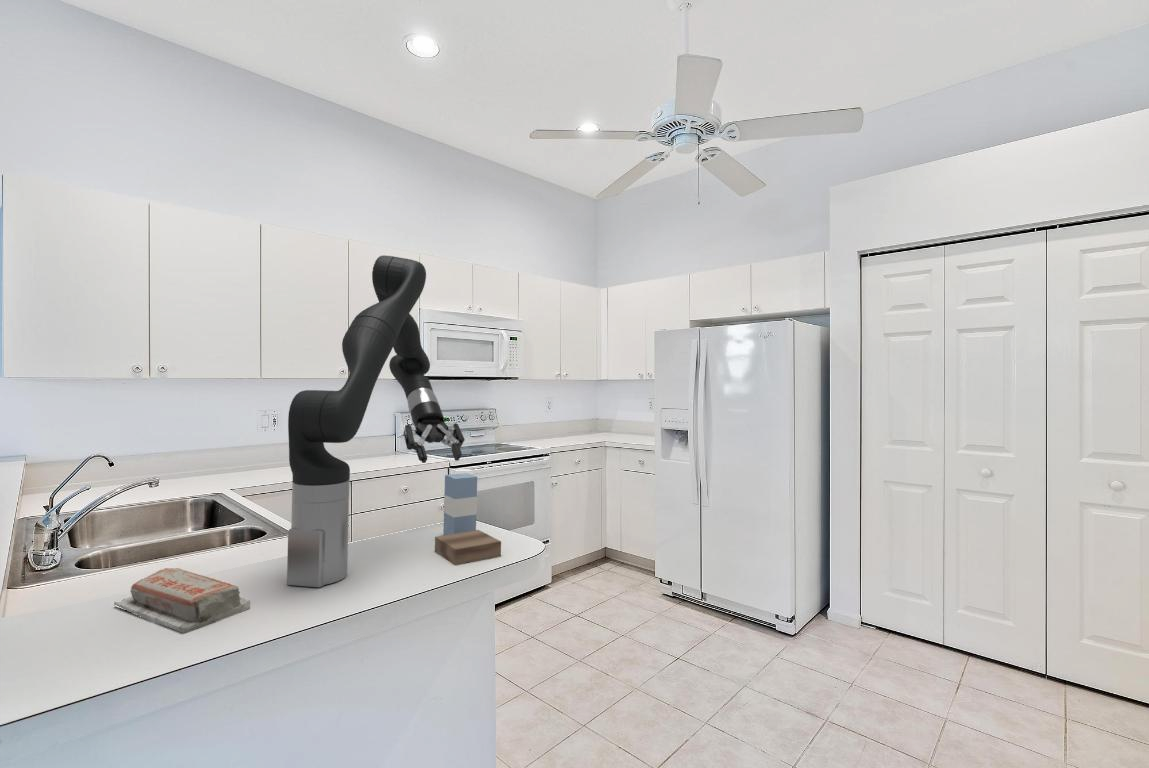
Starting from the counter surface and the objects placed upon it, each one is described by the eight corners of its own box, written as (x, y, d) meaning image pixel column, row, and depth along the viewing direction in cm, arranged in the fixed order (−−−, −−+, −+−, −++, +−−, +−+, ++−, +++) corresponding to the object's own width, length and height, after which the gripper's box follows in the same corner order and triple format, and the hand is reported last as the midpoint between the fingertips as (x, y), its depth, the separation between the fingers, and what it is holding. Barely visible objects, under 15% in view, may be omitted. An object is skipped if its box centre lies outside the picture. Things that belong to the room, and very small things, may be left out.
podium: (500, 556, 111) (501, 541, 111) (455, 565, 105) (455, 549, 105) (478, 543, 119) (478, 529, 119) (434, 551, 113) (435, 536, 113)
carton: (476, 538, 123) (477, 476, 122) (453, 542, 119) (455, 478, 119) (465, 532, 127) (466, 473, 127) (443, 536, 124) (444, 475, 124)
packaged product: (254, 579, 83) (184, 602, 74) (253, 610, 84) (183, 637, 74) (184, 559, 91) (113, 578, 82) (183, 588, 91) (112, 610, 82)
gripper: (401, 399, 134) (417, 451, 125) (455, 399, 143) (474, 448, 134) (393, 419, 138) (408, 471, 129) (446, 418, 147) (463, 467, 138)
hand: (442, 459), depth 131 cm, fingers open, 8 cm apart
